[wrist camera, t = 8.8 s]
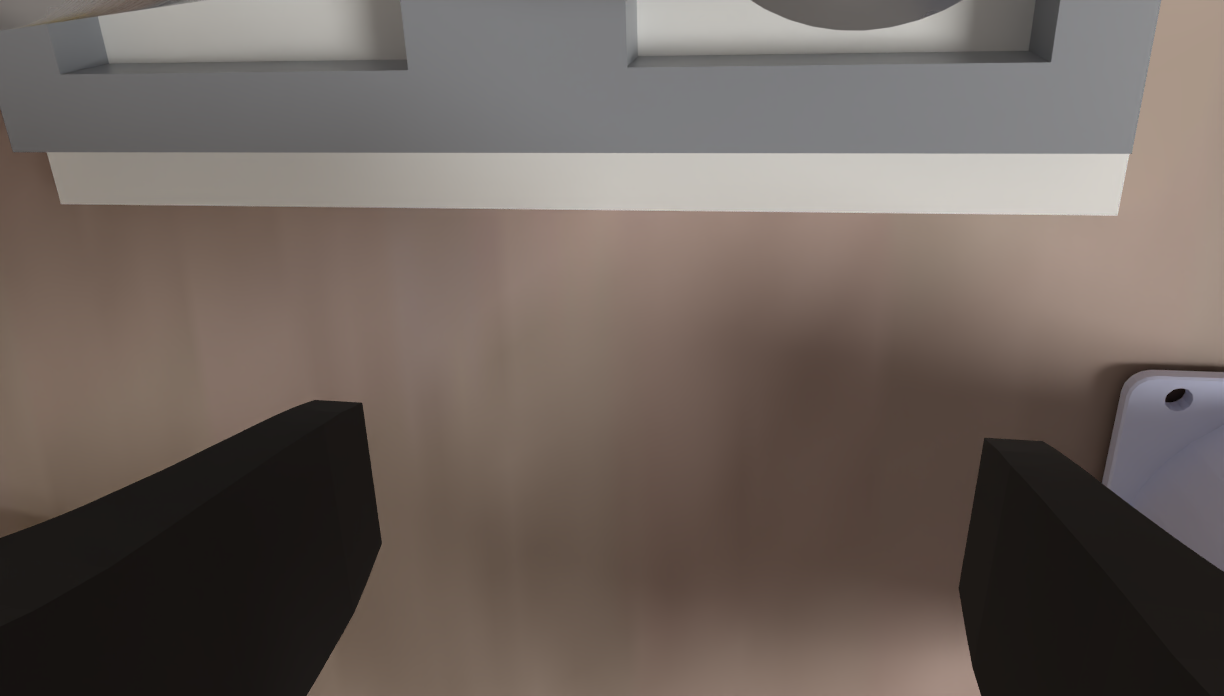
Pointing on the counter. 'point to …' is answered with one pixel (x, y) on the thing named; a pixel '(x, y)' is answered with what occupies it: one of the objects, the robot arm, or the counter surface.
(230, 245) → the counter surface
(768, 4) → the cylinder
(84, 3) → the cylinder
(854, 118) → the grey rectangular tray
